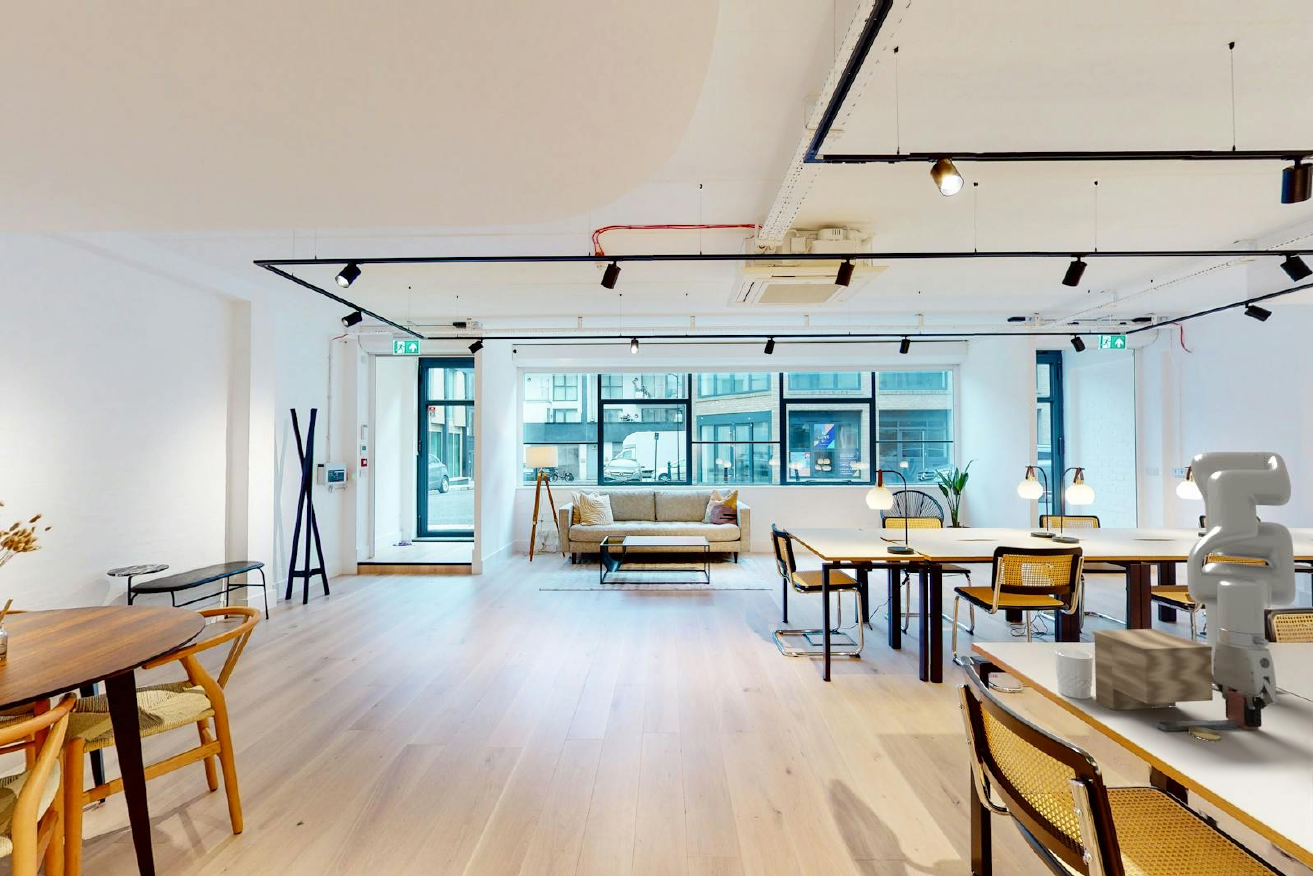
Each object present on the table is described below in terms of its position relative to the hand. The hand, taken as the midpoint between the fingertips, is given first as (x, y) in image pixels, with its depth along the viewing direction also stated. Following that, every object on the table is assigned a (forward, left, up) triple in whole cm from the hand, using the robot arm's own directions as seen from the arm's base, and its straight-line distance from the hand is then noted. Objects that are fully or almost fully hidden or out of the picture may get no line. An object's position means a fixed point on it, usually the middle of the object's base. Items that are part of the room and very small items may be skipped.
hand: (1243, 721), depth 137 cm
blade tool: (+9, 0, -1) cm, 9 cm away
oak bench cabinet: (+13, -9, -1) cm, 16 cm away
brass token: (+13, +3, -1) cm, 14 cm away
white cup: (+23, -21, -1) cm, 31 cm away
